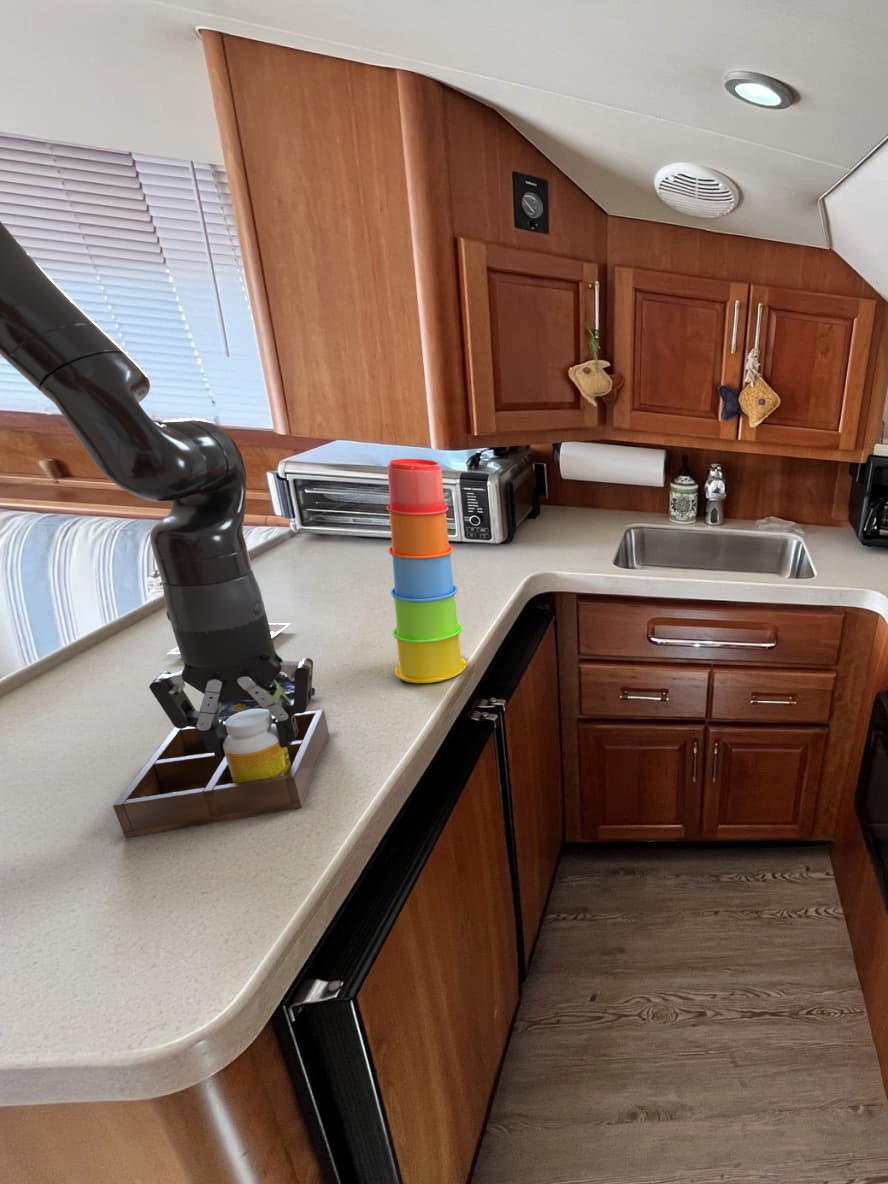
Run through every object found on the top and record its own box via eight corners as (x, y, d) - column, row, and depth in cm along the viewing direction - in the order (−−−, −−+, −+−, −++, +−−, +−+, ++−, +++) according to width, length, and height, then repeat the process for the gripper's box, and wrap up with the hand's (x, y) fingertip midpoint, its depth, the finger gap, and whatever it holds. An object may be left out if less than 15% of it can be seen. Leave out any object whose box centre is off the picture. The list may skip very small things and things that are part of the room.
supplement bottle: (229, 787, 75) (209, 717, 71) (284, 766, 79) (267, 699, 75) (246, 807, 72) (225, 736, 68) (302, 785, 76) (285, 716, 73)
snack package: (216, 696, 94) (199, 735, 84) (215, 656, 92) (197, 691, 83) (317, 692, 100) (312, 727, 91) (318, 655, 99) (313, 687, 90)
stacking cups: (408, 657, 109) (377, 454, 96) (473, 656, 111) (450, 457, 99) (385, 686, 100) (347, 466, 87) (456, 684, 102) (429, 469, 89)
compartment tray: (124, 838, 68) (112, 806, 66) (183, 756, 81) (174, 727, 79) (301, 807, 74) (294, 777, 72) (329, 736, 87) (323, 709, 85)
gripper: (310, 596, 73) (337, 721, 80) (145, 606, 67) (188, 740, 74) (293, 622, 67) (323, 755, 73) (110, 635, 61) (159, 779, 67)
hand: (255, 747), depth 73 cm, fingers closed on supplement bottle, 5 cm apart
